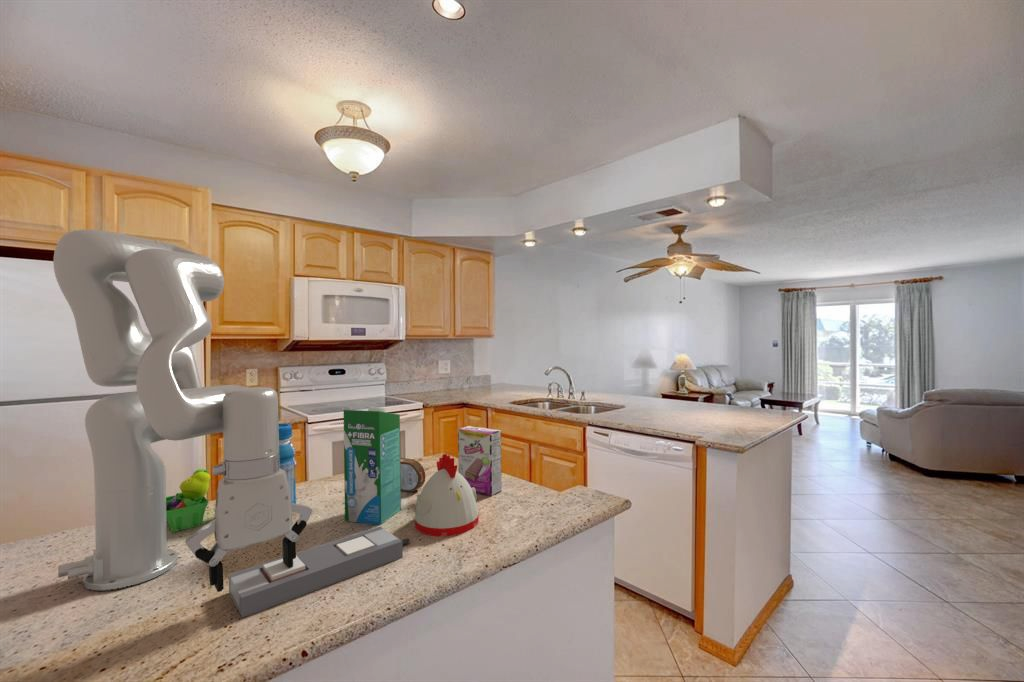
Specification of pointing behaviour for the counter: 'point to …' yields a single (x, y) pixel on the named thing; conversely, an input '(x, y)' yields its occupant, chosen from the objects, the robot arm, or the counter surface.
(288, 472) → the beverage bottle
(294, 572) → the outlet button
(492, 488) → the candy bar box
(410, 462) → the tin
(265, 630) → the counter surface
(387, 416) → the milk carton
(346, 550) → the outlet button
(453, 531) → the kitchen timer
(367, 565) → the power strip
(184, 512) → the fruit basket
